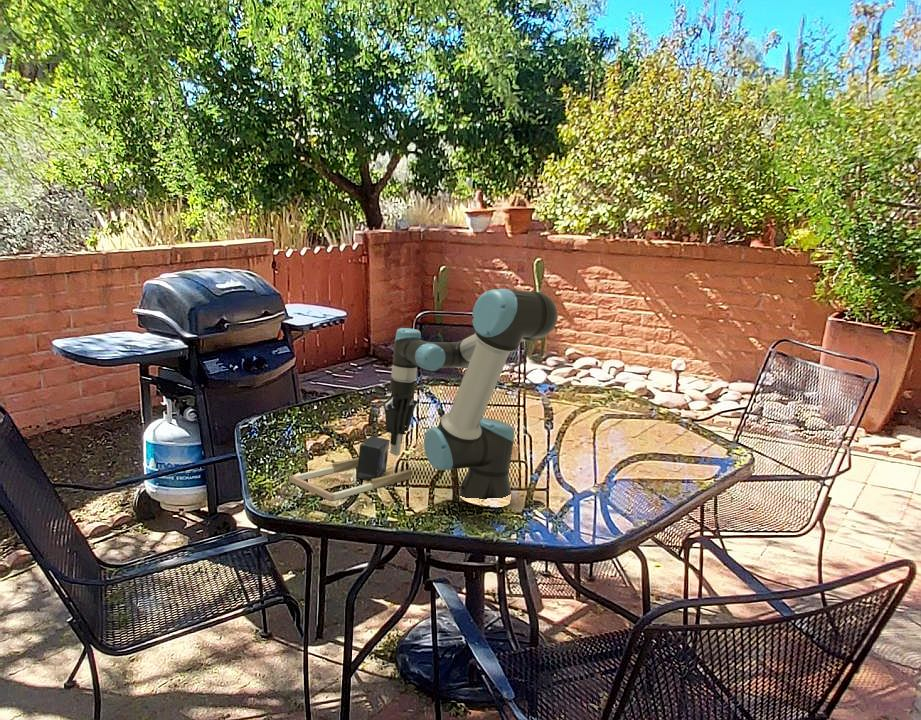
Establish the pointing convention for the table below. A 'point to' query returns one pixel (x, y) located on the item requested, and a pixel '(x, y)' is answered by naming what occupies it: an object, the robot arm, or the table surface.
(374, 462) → the small box
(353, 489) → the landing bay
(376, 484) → the wooden rail pair
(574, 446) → the table surface
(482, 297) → the robot arm
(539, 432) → the table surface
